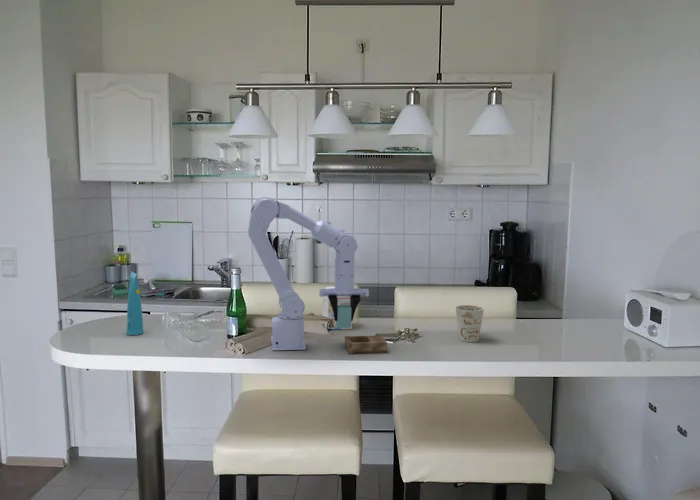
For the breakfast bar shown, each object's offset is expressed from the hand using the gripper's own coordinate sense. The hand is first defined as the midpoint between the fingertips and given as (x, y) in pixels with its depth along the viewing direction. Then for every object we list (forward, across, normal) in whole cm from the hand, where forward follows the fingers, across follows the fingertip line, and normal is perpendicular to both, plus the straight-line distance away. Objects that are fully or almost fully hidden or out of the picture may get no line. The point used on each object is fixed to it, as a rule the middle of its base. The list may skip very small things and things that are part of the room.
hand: (343, 320), depth 156 cm
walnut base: (+7, +6, -6) cm, 11 cm away
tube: (+8, -63, +18) cm, 66 cm away
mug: (+7, +41, +2) cm, 41 cm away
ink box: (+7, +1, +20) cm, 22 cm away
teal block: (+2, 0, 0) cm, 2 cm away
